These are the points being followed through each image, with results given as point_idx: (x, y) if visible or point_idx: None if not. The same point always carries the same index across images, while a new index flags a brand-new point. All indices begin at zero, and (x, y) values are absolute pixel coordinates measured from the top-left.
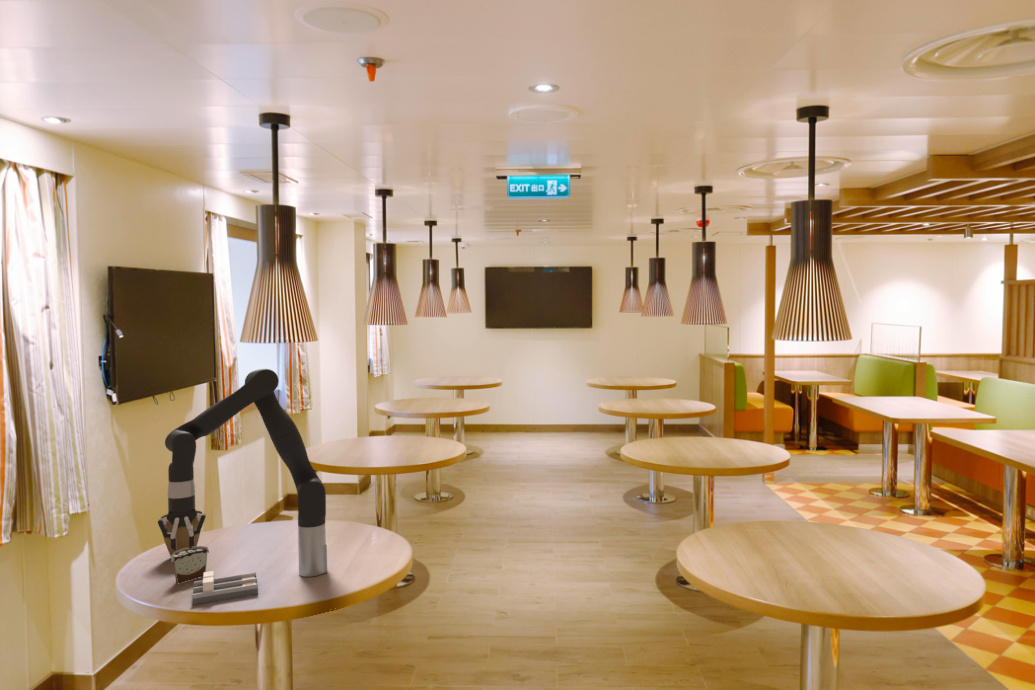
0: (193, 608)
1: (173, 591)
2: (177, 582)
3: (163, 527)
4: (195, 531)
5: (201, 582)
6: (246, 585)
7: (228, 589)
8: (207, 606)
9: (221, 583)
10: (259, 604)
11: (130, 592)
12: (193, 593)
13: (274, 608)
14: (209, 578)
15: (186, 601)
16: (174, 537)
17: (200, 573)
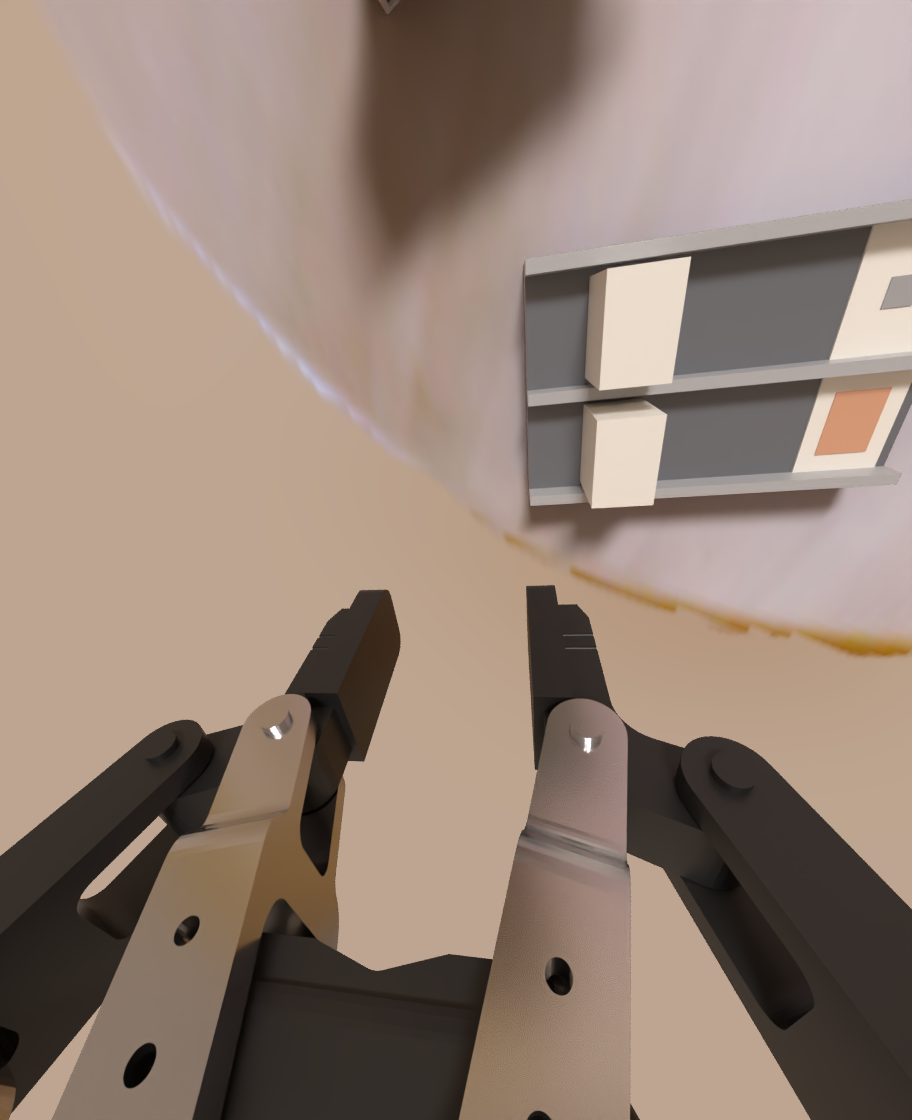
0: (534, 523)
1: (396, 208)
2: (383, 5)
3: (68, 1021)
4: (655, 845)
5: (575, 267)
6: (836, 417)
7: (716, 493)
8: (591, 524)
9: (699, 380)
10: (803, 585)
11: (115, 105)
12: (530, 424)
13: (839, 640)
14: (636, 443)
15: (496, 425)
16: (342, 788)
17: None
